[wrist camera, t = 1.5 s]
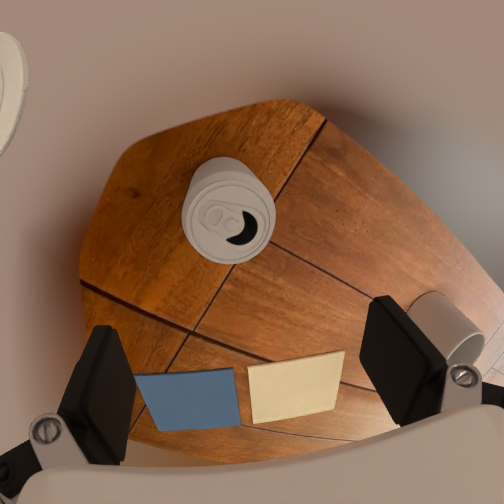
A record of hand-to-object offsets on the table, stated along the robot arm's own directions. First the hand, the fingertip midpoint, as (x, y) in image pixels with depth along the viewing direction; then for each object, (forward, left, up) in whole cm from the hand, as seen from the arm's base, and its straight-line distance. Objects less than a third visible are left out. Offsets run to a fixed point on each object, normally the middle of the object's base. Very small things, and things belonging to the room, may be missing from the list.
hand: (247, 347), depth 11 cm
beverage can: (0, +1, -23) cm, 22 cm away
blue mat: (-8, -30, -22) cm, 38 cm away
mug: (+30, -21, -23) cm, 43 cm away
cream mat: (+8, -30, -22) cm, 38 cm away
